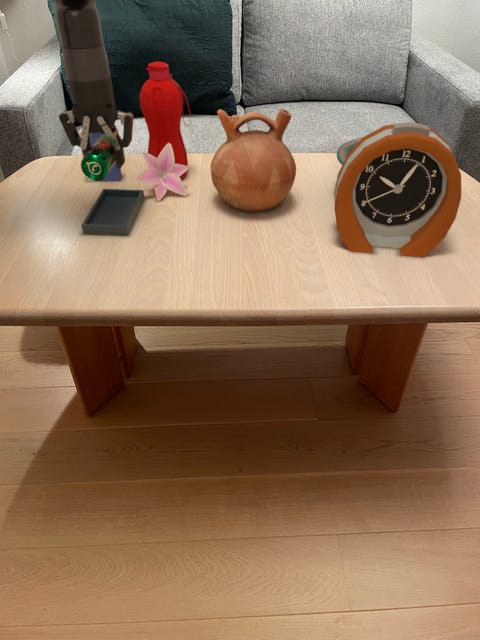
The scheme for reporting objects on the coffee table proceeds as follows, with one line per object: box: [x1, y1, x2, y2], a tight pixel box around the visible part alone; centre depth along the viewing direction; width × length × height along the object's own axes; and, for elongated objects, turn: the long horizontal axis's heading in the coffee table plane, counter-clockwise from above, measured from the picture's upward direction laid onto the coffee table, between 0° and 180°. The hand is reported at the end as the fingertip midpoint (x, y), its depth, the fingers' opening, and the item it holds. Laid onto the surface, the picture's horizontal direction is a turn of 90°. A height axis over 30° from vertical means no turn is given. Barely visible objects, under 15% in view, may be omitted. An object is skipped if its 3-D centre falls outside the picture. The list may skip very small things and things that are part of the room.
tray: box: [80, 188, 145, 237], centre depth 100 cm, size 16×9×2 cm, turn 177°
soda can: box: [80, 135, 116, 182], centre depth 91 cm, size 5×5×12 cm
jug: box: [210, 108, 297, 214], centre depth 100 cm, size 18×18×20 cm
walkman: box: [77, 127, 122, 182], centre depth 111 cm, size 8×3×12 cm, turn 92°
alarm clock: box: [333, 121, 462, 258], centre depth 87 cm, size 22×10×23 cm, turn 82°
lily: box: [134, 143, 189, 202], centre depth 107 cm, size 12×12×10 cm
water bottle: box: [139, 61, 192, 180], centre depth 108 cm, size 9×11×25 cm
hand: (105, 165), depth 94 cm, fingers closed on soda can, 5 cm apart
